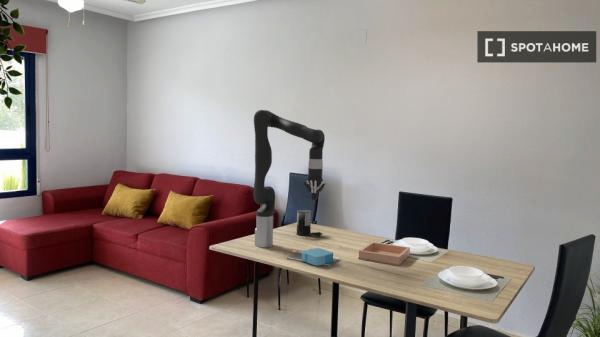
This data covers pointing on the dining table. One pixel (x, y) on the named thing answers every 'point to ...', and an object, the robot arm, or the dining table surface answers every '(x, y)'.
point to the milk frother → (305, 223)
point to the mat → (298, 257)
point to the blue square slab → (317, 256)
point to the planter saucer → (384, 253)
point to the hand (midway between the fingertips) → (314, 199)
